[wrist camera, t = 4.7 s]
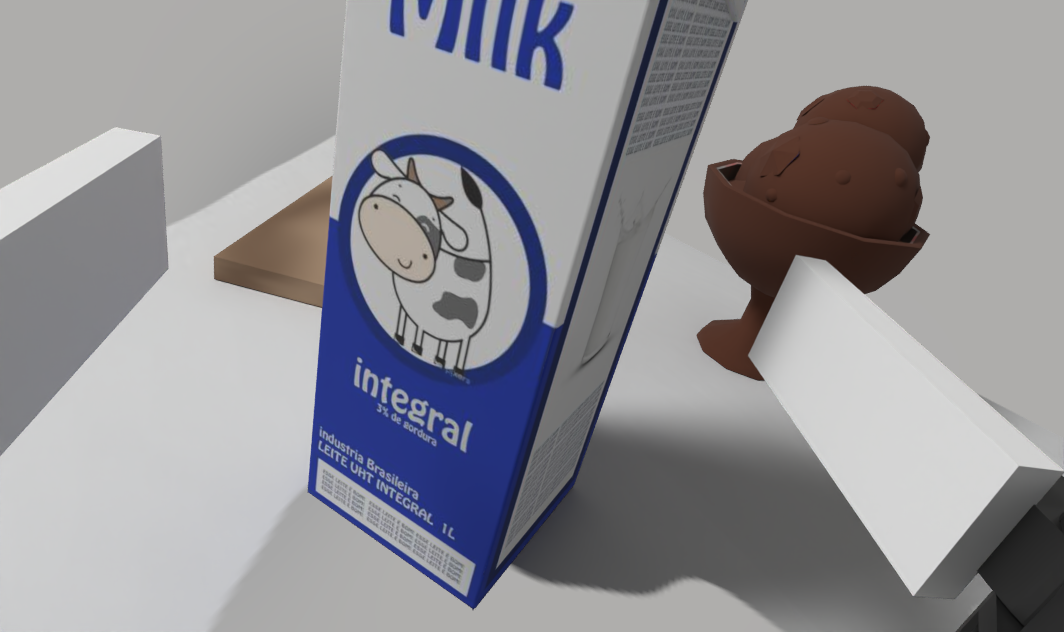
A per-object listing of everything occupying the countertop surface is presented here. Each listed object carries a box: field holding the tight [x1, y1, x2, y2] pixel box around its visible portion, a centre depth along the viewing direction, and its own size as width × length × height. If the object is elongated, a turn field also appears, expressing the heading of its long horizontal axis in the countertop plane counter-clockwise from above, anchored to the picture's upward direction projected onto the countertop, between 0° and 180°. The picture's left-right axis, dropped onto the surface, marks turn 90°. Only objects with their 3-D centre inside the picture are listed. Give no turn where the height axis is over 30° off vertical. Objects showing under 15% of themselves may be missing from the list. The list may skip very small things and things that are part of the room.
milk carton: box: [308, 0, 748, 609], centre depth 17 cm, size 7×7×20 cm
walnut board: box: [214, 176, 333, 307], centre depth 38 cm, size 18×18×1 cm
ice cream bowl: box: [697, 86, 930, 380], centre depth 33 cm, size 11×11×15 cm
